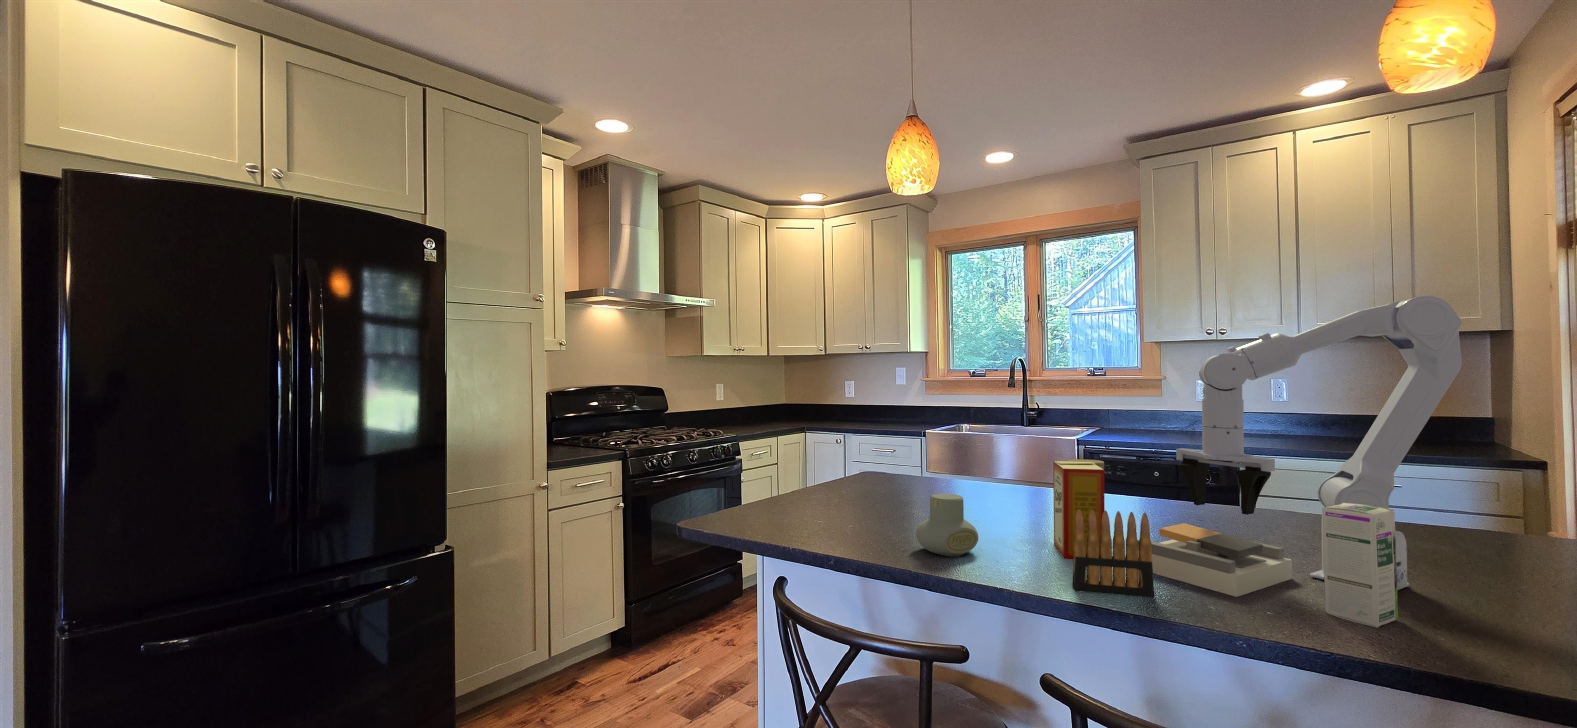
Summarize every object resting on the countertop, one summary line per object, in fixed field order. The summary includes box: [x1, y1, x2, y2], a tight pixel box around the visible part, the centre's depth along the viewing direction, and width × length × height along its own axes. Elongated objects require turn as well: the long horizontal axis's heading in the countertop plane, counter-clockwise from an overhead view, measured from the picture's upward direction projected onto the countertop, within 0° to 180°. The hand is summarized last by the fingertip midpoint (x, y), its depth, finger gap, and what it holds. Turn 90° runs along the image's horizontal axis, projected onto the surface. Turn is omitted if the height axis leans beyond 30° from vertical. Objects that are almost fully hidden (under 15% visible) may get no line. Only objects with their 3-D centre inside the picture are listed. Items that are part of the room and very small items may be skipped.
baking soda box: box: [1052, 460, 1106, 560], centre depth 116 cm, size 10×6×16 cm
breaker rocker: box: [1158, 522, 1263, 559], centre depth 104 cm, size 12×7×1 cm, turn 29°
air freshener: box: [915, 493, 979, 558], centre depth 117 cm, size 11×8×10 cm
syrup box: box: [1321, 503, 1399, 629], centre depth 85 cm, size 6×6×14 cm
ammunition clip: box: [1071, 509, 1155, 599], centre depth 95 cm, size 11×2×12 cm, turn 74°
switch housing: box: [1137, 539, 1293, 598], centre depth 104 cm, size 16×16×6 cm
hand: (1222, 508), depth 107 cm, fingers open, 7 cm apart
